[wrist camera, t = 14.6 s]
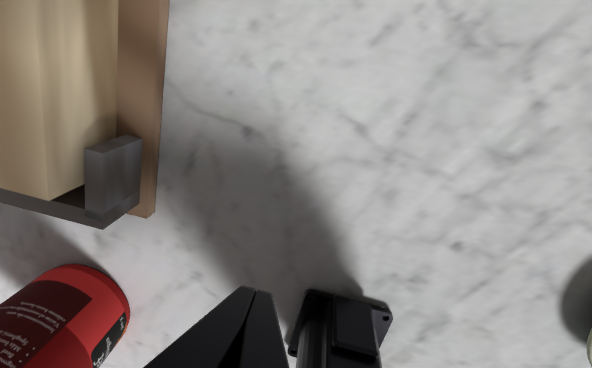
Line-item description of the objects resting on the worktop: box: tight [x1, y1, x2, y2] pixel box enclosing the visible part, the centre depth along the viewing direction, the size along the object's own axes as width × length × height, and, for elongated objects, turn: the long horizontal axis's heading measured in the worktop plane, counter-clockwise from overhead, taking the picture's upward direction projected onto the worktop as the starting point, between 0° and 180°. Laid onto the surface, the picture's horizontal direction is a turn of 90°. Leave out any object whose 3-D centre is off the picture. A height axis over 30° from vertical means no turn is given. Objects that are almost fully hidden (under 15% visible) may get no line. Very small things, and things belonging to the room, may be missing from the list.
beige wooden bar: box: [0, 0, 119, 201], centre depth 14 cm, size 4×16×5 cm, turn 167°
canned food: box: [0, 264, 130, 368], centre depth 20 cm, size 8×8×11 cm
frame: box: [0, 0, 170, 230], centre depth 16 cm, size 22×8×4 cm, turn 167°
